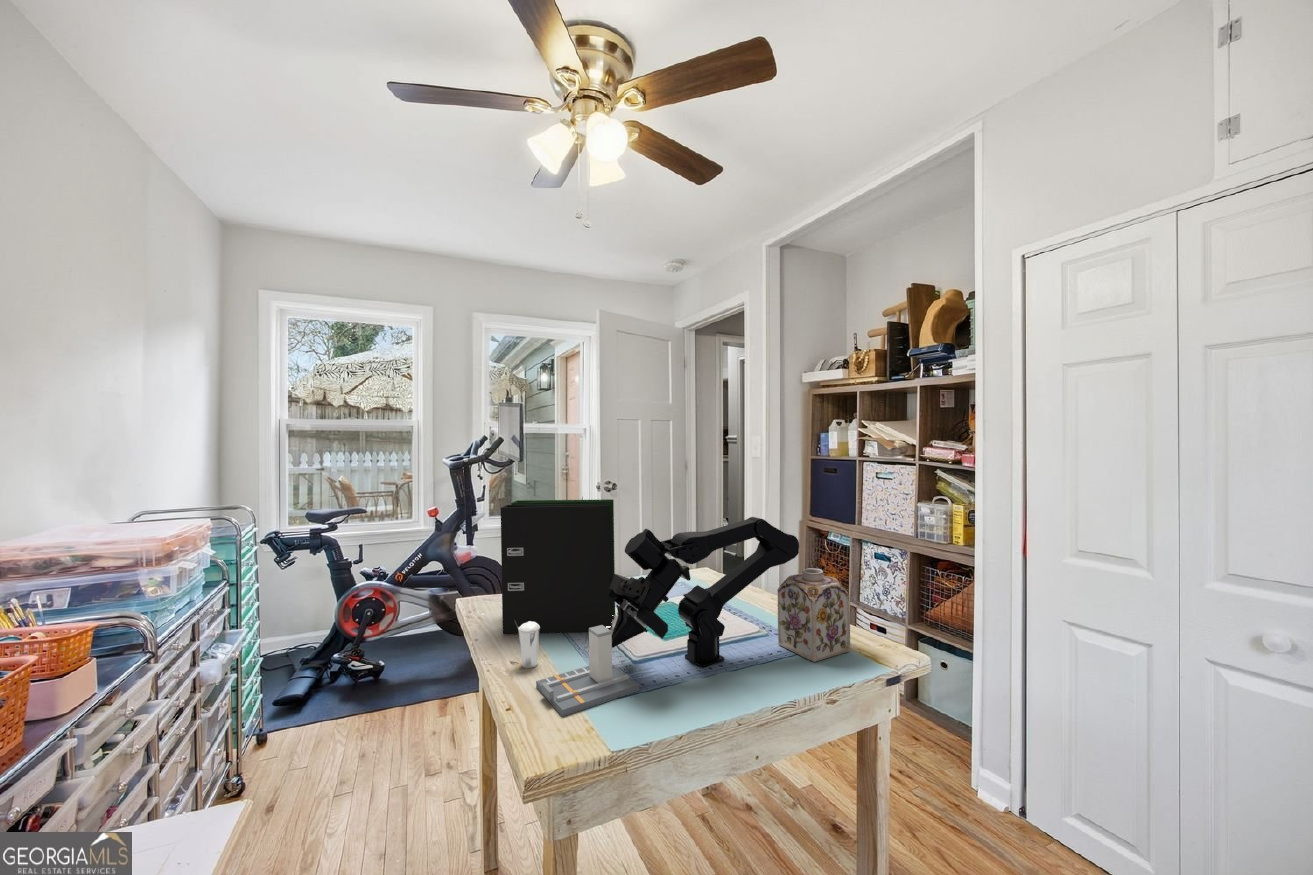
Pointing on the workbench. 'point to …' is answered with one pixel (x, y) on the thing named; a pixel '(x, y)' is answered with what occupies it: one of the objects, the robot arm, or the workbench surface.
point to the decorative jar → (813, 615)
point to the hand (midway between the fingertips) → (610, 645)
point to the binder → (557, 564)
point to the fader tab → (600, 653)
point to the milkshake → (529, 643)
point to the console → (584, 689)
